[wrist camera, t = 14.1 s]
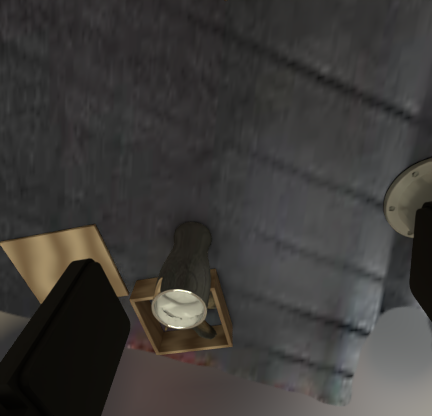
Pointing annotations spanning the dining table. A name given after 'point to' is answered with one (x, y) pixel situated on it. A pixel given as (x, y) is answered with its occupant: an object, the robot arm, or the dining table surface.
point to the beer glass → (184, 279)
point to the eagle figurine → (205, 323)
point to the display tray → (180, 338)
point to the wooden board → (60, 257)
